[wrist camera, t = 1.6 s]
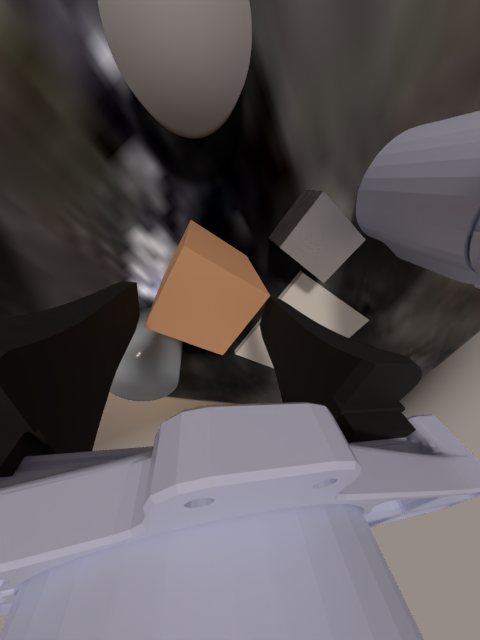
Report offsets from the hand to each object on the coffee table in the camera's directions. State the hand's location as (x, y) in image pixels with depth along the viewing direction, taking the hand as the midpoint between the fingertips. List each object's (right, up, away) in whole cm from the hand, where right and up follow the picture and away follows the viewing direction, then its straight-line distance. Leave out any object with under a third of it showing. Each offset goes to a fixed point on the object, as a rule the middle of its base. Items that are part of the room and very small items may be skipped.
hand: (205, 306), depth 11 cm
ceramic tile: (+9, -2, +11) cm, 15 cm away
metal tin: (+7, +6, +5) cm, 11 cm away
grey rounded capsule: (-6, -2, +8) cm, 10 cm away
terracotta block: (-1, +4, +5) cm, 6 cm away
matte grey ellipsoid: (-1, +13, -1) cm, 13 cm away
